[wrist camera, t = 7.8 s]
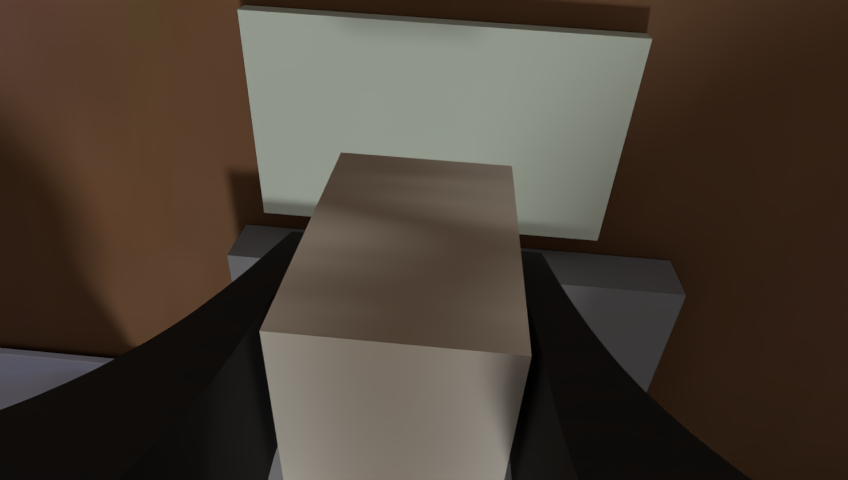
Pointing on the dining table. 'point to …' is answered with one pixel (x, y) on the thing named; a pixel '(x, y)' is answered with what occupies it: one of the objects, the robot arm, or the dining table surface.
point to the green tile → (442, 104)
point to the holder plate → (585, 286)
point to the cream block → (401, 325)
